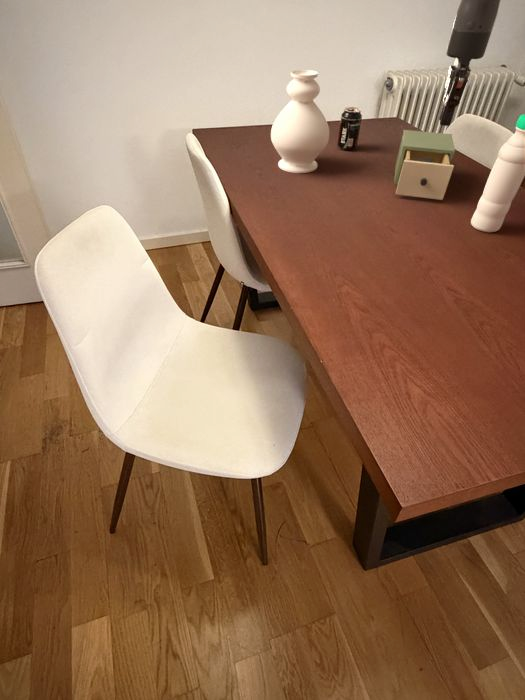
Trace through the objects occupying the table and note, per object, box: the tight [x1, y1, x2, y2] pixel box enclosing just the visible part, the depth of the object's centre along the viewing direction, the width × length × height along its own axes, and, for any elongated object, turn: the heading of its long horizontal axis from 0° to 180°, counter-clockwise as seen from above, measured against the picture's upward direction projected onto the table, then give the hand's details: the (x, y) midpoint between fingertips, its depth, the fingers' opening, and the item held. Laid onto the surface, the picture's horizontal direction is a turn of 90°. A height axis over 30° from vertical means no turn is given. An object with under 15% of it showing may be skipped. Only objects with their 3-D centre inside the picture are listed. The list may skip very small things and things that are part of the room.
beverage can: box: [336, 106, 363, 151], centre depth 136 cm, size 7×7×12 cm
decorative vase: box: [270, 69, 330, 174], centre depth 120 cm, size 18×18×25 cm
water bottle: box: [470, 113, 525, 233], centre depth 92 cm, size 7×7×25 cm
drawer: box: [395, 150, 455, 201], centre depth 112 cm, size 15×13×9 cm
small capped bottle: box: [419, 157, 433, 163], centre depth 111 cm, size 3×3×7 cm
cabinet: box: [393, 129, 456, 186], centre depth 119 cm, size 15×14×11 cm
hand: (444, 122), depth 93 cm, fingers open, 3 cm apart
